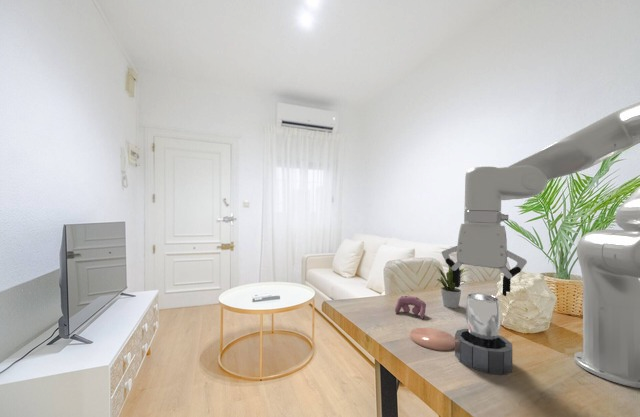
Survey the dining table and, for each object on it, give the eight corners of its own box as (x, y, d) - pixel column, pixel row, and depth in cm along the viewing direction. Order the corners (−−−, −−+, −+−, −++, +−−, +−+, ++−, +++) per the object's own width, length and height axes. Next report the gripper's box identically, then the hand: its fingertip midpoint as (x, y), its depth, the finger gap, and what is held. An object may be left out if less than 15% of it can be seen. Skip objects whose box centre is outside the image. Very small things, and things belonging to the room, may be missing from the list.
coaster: (460, 337, 74) (460, 335, 74) (453, 355, 64) (453, 353, 64) (417, 326, 81) (417, 324, 81) (404, 341, 71) (404, 338, 71)
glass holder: (512, 358, 64) (512, 337, 64) (512, 381, 54) (512, 357, 54) (459, 343, 70) (459, 325, 70) (451, 362, 61) (451, 341, 61)
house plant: (483, 314, 92) (483, 267, 92) (444, 313, 92) (444, 266, 93) (462, 301, 106) (462, 260, 107) (428, 300, 106) (428, 260, 107)
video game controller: (425, 320, 90) (427, 299, 92) (423, 318, 86) (425, 297, 89) (396, 314, 95) (399, 295, 98) (393, 312, 91) (396, 292, 94)
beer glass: (506, 370, 58) (506, 302, 59) (472, 366, 60) (472, 300, 60) (492, 354, 65) (492, 293, 65) (461, 351, 66) (462, 291, 67)
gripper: (526, 220, 61) (525, 294, 61) (445, 217, 71) (444, 280, 71) (528, 220, 55) (526, 302, 55) (439, 217, 65) (437, 286, 65)
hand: (480, 290), depth 63 cm, fingers open, 9 cm apart
